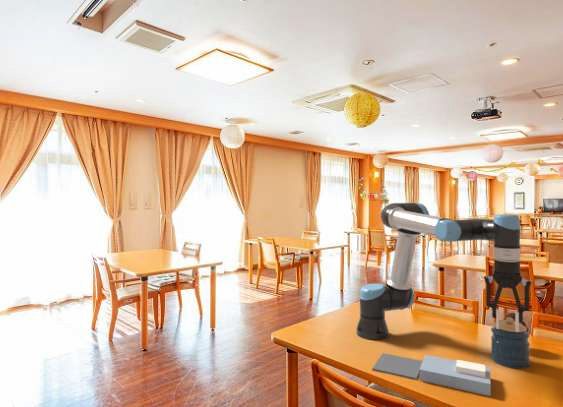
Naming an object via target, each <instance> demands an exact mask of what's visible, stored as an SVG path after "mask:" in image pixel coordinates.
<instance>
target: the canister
mask: <svg viewBox="0 0 563 407" xmlns="http://www.w3.org/2000/svg"><path fill="white" fill-rule="evenodd" d="M492 324H493V327H491V329H490V331H491V333H492V335H491V337H490V340H491V352H490V356H491V359H492V361H493V362H495V363H497V364H499V365H502V366H504V367H507V368H512V369H526V368H528V367H529V365H530V363H531V362H530V360H531V359H530V345H531V344H530V341H529V338H530V333H529V332H528V333H527V332H526V330H527V328H528V327H527V326H526V327H527V328H526V327H525V326H523V325H522V324H521V323H519V332H516V329H515V321H514V320H513V319H512V318H511V317H507V318H506V320H503V319H499V329H496V321H495V322H493V323H492Z"/></svg>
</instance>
